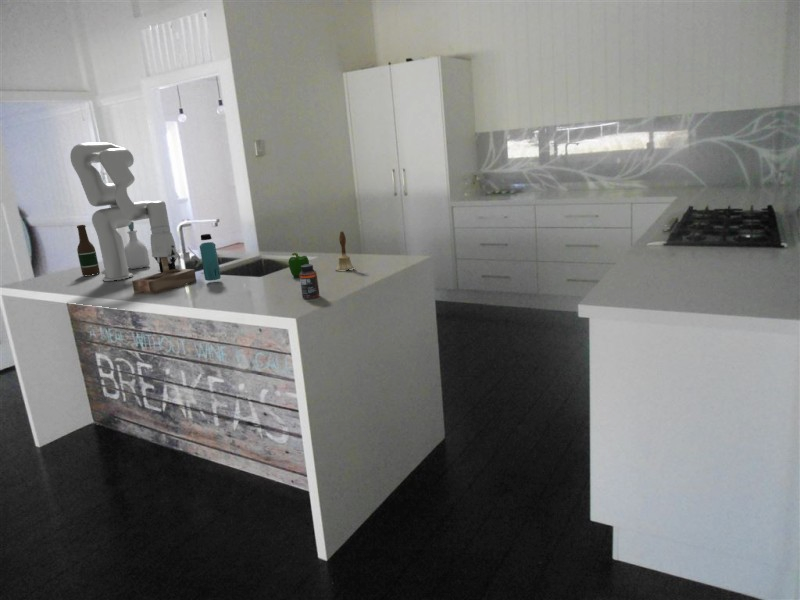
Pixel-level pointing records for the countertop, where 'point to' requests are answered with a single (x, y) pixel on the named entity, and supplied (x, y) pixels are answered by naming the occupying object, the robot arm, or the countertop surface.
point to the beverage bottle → (209, 259)
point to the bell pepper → (297, 264)
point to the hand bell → (344, 255)
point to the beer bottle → (86, 253)
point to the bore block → (163, 281)
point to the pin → (165, 263)
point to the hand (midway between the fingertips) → (168, 271)
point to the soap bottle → (136, 251)
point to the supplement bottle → (309, 282)
